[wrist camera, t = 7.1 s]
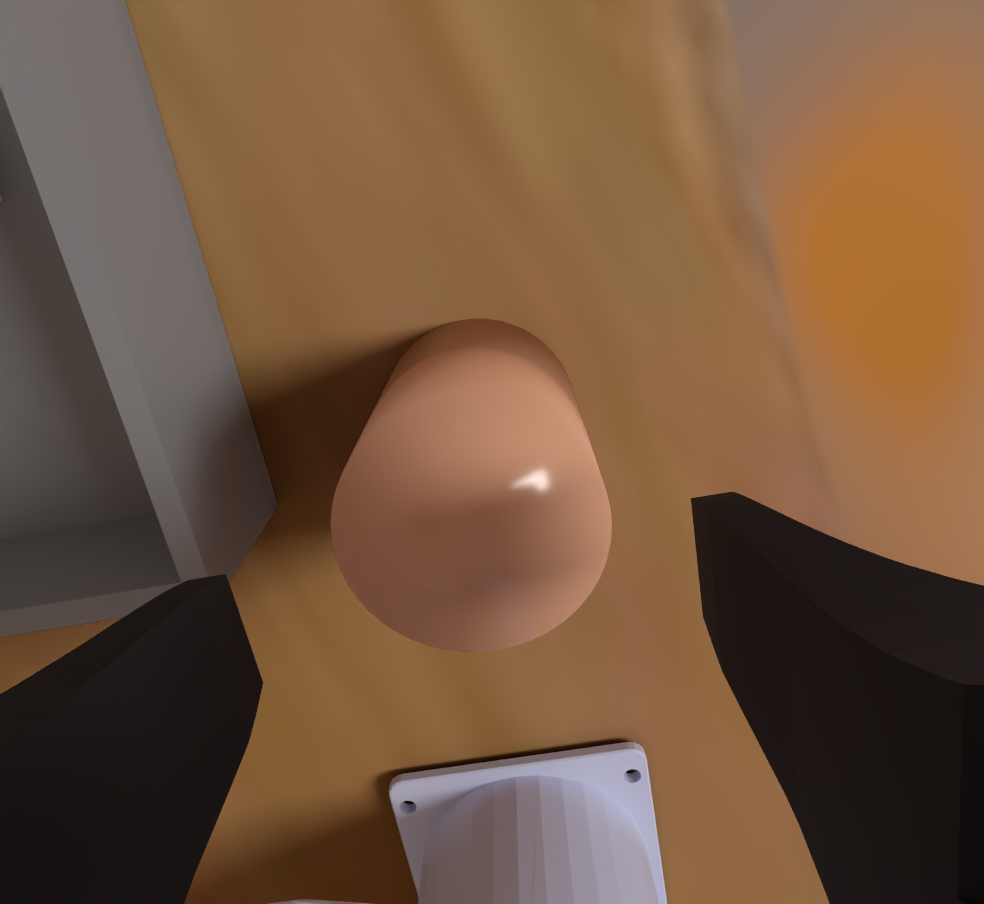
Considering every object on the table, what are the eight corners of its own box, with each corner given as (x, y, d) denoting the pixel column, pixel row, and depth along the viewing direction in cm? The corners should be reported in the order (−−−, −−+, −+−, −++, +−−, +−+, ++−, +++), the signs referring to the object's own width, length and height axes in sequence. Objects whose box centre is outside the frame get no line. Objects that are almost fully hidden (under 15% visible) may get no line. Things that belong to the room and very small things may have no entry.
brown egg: (586, 484, 21) (627, 630, 15) (406, 514, 22) (367, 669, 15) (559, 302, 19) (591, 374, 13) (364, 337, 20) (298, 425, 13)
